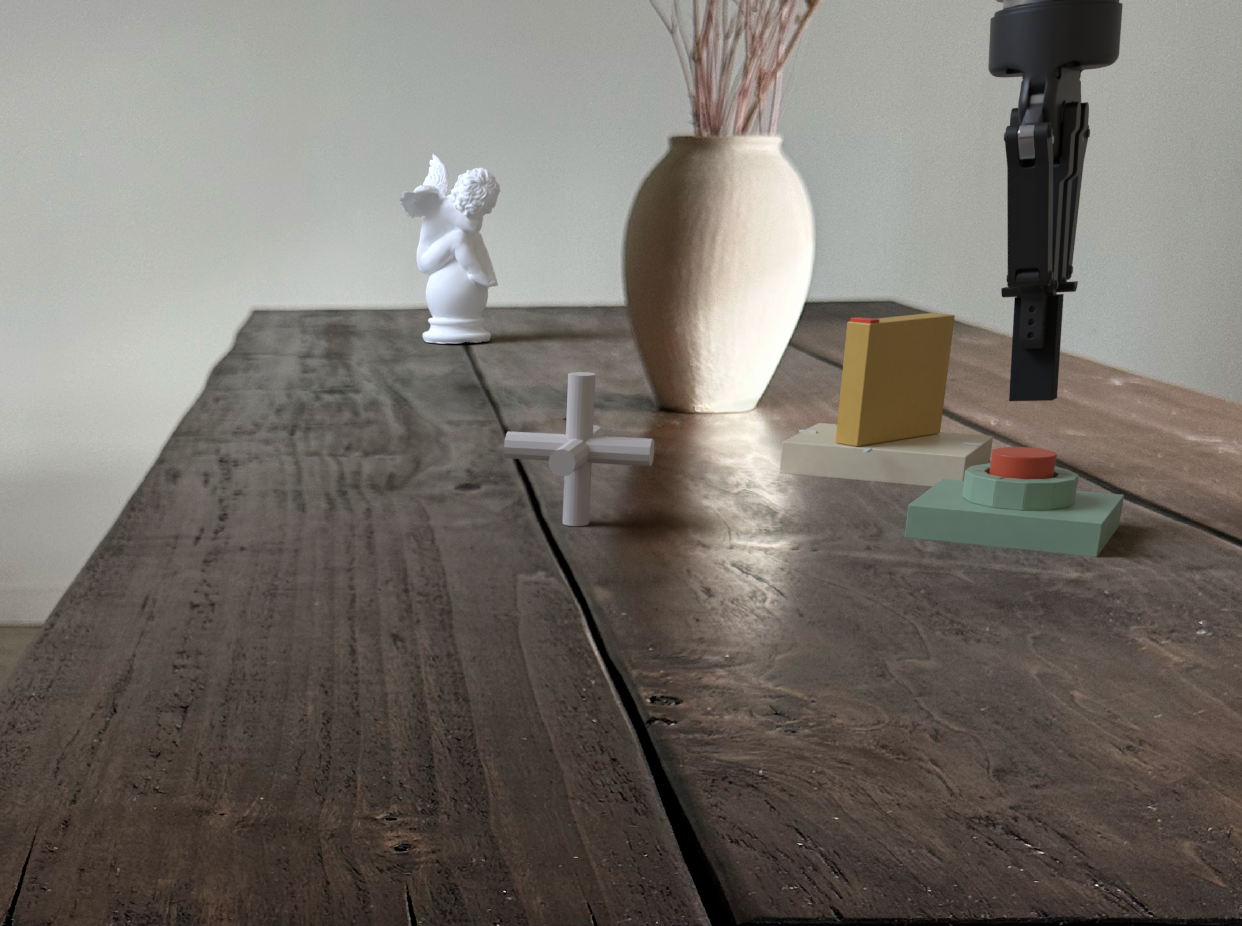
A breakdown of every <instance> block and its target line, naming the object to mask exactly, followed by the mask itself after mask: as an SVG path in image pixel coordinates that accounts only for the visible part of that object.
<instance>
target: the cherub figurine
mask: <svg viewBox="0 0 1242 926" xmlns="http://www.w3.org/2000/svg"><path fill="white" fill-rule="evenodd" d="M431 157H432V159H430V160H429V165H430V166H429V168H428V173H427V175H426V176H425V179H424V181H423V183H422V184H420V185H418V186H417V187H415V188H414V190H413V191H407V190H405V191H402V192H401V196H400V197H399V198H398V199H399V202H400V205H401V209H403V211H404V212H405V213H406V216H407V217H411V219H415V218H421V217H423V219H422V222H421V227H420V233H419V241H418V245H417V247H416V255H415V256H416V257H415V258H416V265H417V269H418V271H420V272H421V273H422V274H423V275H426V276H429V277H428V279H427V284H426V287H425V301H426V306H427V308H428V311H429V313H430V315H431V316H432V317H429V318H428V319H427V322H428V324H429V325H430V327H429V329H428V330H426V331H424V332H423V333H422V339H423V341H424V342H426V343H429V344H430V343H431V344H444V345H446V344H450V345H451V344H462V343H465V342H466V343H470V344H471V343H473V344H474V343H476V344H478V343H482V342H485V343H486V342H489V341H490V340H491V336H492V334H491V332H490V331H487V330H485V329H484V324H485V323H486V319H485V317H483V316H482V315H483V313H484V311H485V309H486V307H487V304H488V298H489V289H490V288H492V287H498V286H499V282H498V279H497V277H496V273H495V270H494V267H493V263H492V262H493V261H492V259H491V256H490V253H489V251H488V249H487V247H486V244H485V241H484V238H483V235H482V234H481V233H480V231H481V230H482V228H483V221H484V216H485V215H489V214H491V213H492V212H493V209H494V208H495V207H496V205H497V201H498V198H499V195H500V193H501V186H500V184H499V183H498V181H497V179H496V176H495V175H494V174H493V173H492V172H491V171H489V170H488V169H487V168H485V167H475V168H473V169H467V170H466V172H465V173H460V174H459V175H458V176H457V180H456V182H455V183H454V186H453V188H452V189H449V188H448V185H449V173H448V170H447V166H445V163H443V162H442V161H441V159H440V158H439V157H438V156H437V155H436V154H435V153H434V152H433V153H432V156H431ZM448 190H449V191H451V192H450V194H448V195H446V193H447V191H448Z"/></svg>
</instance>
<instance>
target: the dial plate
mask: <svg viewBox="0 0 1242 926" xmlns="http://www.w3.org/2000/svg"><path fill="white" fill-rule="evenodd" d="M836 431H837V424H835V423H824V422H823V423H822V422H818V423H815V424H814V425H812V426H810V427H808V428H806V429H798V433H796V434H795V435H793V436H790V437H789V438H787V439H785V440H783V441H782V442H781V451H780V452H781V453H780V464H779V474H782V475H783V474H784V475H795V476H807V477H818V478H828V479H838V478H840V479H839V480H850V481H851V480H852V481H862V482H872V483H873V482H874V483H885V484H895V485H905V486H906V485H907V486H919V487H930V488H931V487H933V486H934V485H935V484H937V483H938V482H939V481H940V480H942V479H948V480H960V481H964V475H965V470H967V469H968V468H969V467H970V466H974V465H981V464H988V463H991V456H992V448H993V440H994V436H993V435H983V434H972V433H971V434H970V433H956V432H944V431H943V432H942V431H940V433H937V434H931V435H925V436H919V437H913V438H906V439H900V440H894V441H888V442H882V443H876V444H869V445H863V446H852V445H846V444H840V443H836V442H835V441H836Z"/></svg>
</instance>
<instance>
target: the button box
mask: <svg viewBox="0 0 1242 926" xmlns="http://www.w3.org/2000/svg"><path fill="white" fill-rule="evenodd" d="M990 465H991V462H990V463H988V464H981V465H974V466H970V467H969V468H968V469H967V470H965V475H964V481H960V480H948V479H942V480H940V481H939V482H938V483H937V484H935V485H934V486H933V487H930V488H929V489H927V490H926V491H925V492H924V493H922V494H921V495H920V496H918V497H917V498H915V499H914V500H913V501H912V502H910V503H909V504H908V506H907V513H906V523H905V530H904V538H905V539H915V540H925V541H934V542H944V543H954V544H964V545H973V546H981V547H994V548H1002V549H1013V550H1022V551H1031V552H1039V553H1051V554H1061V555H1070V556H1080V557H1089V558H1097V557H1099V555H1100V553H1101V552H1102V551H1103V549H1104V548H1105V547H1106V545H1107V544H1108V542H1109V541H1110V540H1111V538H1112V537H1113V536H1114V534H1115V533H1116V531H1117V530H1118V529H1119V528H1120V522H1121V517H1122V511H1123V505H1124V499H1125V494H1120V493H1109V492H1108V493H1107V492H1096V491H1086V490H1085V491H1084V490H1077V487H1078V483H1079V474H1078V473H1076V472H1074V471H1071V470H1069V469H1068V468H1062V467H1057V466H1055V469H1054V476H1053V478H1048V479H1016V478H1005V477H1000V476H995V475H990V474H989V472H990Z"/></svg>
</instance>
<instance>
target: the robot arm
mask: <svg viewBox="0 0 1242 926" xmlns="http://www.w3.org/2000/svg"><path fill="white" fill-rule="evenodd" d="M995 2H997V3H1002V9H999V10H998V11H995V13H994V14H993V16H992V17H991V18H990V22H989V23H990V25H989V44H988V45H989V47H988V48H989V49H988V66H987V69H988V73H989V74H990V75H991V76H993V77H995V78H1022V80H1021V82H1020V90H1019V96H1018V103H1017V107H1013V108H1011V110H1010V115H1009V116H1010V117H1009V125H1007V126H1006V127H1005V132H1003V133H1004V134H1003V141H1004V147H1005V156H1006V166H1007V167H1006V170H1007V171H1006V174H1007V176H1006V177H1007V178H1006V179H1007V181H1006V182H1007V187H1006V189H1007V191H1006V192H1007V193H1006V194H1007V195H1006V196H1007V200H1006V201H1007V204H1006V205H1007V206H1006V207H1007V213H1006V214H1007V216H1006V217H1007V274H1006V283H1007V285H1006V286H1005V287H1001V288H1000V289H1001V290H1000V291H1001V297H1002V298H1014V303H1013V320H1012V321H1013V323H1012V337H1011V338H1012V340H1011V357H1010V359H1011V360H1010V378H1009V394H1008V402H1046V401H1047V402H1048V401H1051V402H1052V401H1054V400H1056V399H1058V389H1059V375H1060V374H1059V372H1060V357H1061V343H1062V342H1061V341H1062V328H1063V327H1062V325H1063V311H1064V310H1063V309H1064V293H1072V292H1073V293H1075V292H1077V289H1078V286H1079V285H1078V284H1079V283H1078V282H1079V281H1078V280H1076V281H1075V280H1074V281H1073V280H1072V281H1069V280H1071V278H1072V276H1073V273H1074V265H1073V262H1074V253H1075V245H1076V235H1077V226H1078V218H1079V217H1078V216H1079V209H1080V208H1079V207H1080V200H1081V191H1082V182H1083V181H1082V180H1083V172H1084V164H1085V157H1086V153H1087V152H1086V151H1087V147H1088V141H1089V138H1090V136H1091V129H1090V125H1089V119H1090V105H1089V102H1088V101H1085V102H1082V81H1081V78H1082V77H1081V76H1082V72H1083V71H1086V70H1095V69H1096V70H1097V69H1102V68H1106V67H1109V66H1112V65H1114V64H1115V63H1116V62H1117V60H1118V59H1119V56H1120V47H1121V32H1122V20H1123V19H1122V18H1123V6H1124V4H1123V3H1122V2H1120V0H995Z"/></svg>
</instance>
